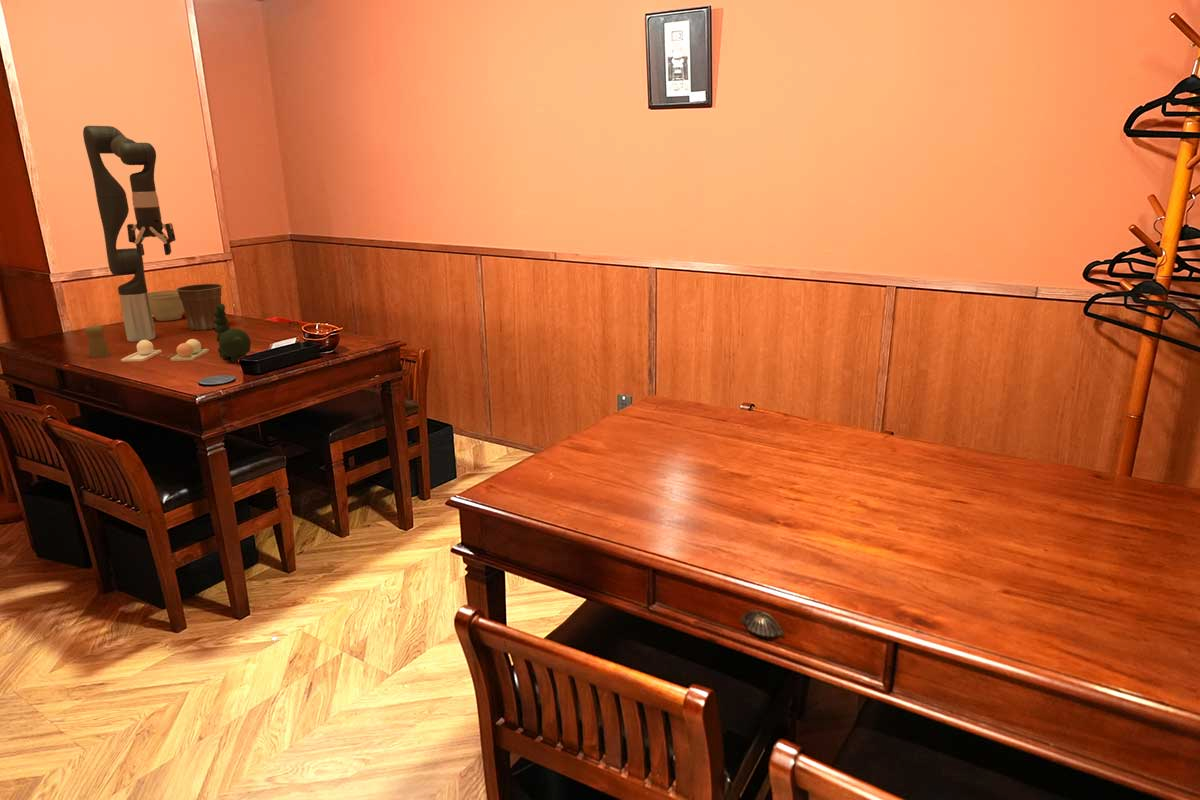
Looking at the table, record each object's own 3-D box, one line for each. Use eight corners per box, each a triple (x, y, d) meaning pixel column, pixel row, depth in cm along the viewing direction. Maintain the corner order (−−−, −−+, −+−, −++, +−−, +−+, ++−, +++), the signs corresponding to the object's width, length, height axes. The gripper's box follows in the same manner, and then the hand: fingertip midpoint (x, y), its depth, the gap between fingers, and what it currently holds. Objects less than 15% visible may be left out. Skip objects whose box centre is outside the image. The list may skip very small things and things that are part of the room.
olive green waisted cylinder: (114, 355, 276) (108, 323, 273) (102, 359, 270) (95, 327, 267) (97, 355, 277) (91, 323, 273) (85, 359, 271) (78, 327, 268)
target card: (163, 355, 276) (162, 352, 276) (180, 355, 276) (180, 351, 276) (151, 361, 268) (150, 357, 268) (169, 361, 269) (169, 357, 268)
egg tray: (141, 353, 278) (140, 350, 278) (161, 353, 278) (161, 349, 278) (121, 363, 266) (120, 359, 265) (143, 362, 266) (142, 359, 266)
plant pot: (185, 333, 309) (178, 291, 304) (180, 326, 322) (173, 286, 317) (231, 328, 318) (225, 287, 313) (224, 321, 331) (218, 282, 326)
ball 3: (189, 351, 278) (187, 337, 276) (204, 351, 278) (202, 337, 276) (183, 355, 273) (180, 340, 271) (198, 355, 273) (196, 340, 272)
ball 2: (181, 356, 272) (179, 341, 270) (197, 355, 272) (194, 341, 270) (175, 359, 267) (172, 345, 265) (190, 359, 267) (187, 344, 266)
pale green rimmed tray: (188, 352, 279) (187, 349, 278) (209, 352, 279) (208, 348, 279) (170, 362, 266) (170, 358, 266) (192, 361, 266) (191, 358, 266)
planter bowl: (138, 322, 331) (133, 296, 328) (164, 315, 346) (160, 289, 343) (173, 323, 328) (169, 296, 325) (198, 315, 343) (194, 290, 340)
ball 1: (142, 352, 277) (139, 338, 276) (157, 352, 277) (154, 338, 276) (135, 356, 272) (132, 341, 271) (150, 356, 272) (147, 341, 271)
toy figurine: (211, 359, 276) (228, 367, 256) (201, 304, 272) (218, 308, 252) (240, 355, 281) (259, 363, 261) (231, 301, 277) (250, 304, 257)
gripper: (173, 204, 271) (181, 253, 276) (130, 205, 271) (138, 254, 275) (162, 206, 264) (171, 256, 269) (118, 206, 263) (127, 256, 268)
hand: (154, 255), depth 272 cm, fingers open, 8 cm apart
